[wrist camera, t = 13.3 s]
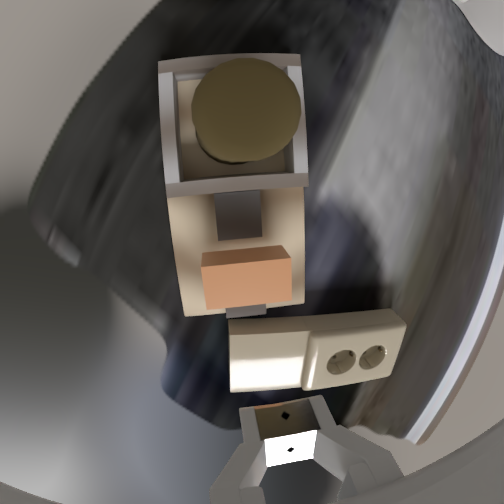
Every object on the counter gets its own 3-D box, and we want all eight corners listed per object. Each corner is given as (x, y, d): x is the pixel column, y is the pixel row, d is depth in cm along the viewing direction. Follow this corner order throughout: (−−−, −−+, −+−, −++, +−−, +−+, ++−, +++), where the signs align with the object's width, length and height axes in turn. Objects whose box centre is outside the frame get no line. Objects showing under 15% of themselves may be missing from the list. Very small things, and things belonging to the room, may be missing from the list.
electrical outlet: (230, 341, 24) (409, 324, 27) (227, 317, 28) (390, 306, 31) (231, 398, 27) (391, 377, 29) (228, 372, 31) (376, 357, 33)
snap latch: (202, 252, 22) (200, 267, 19) (281, 244, 23) (291, 257, 20) (207, 291, 23) (206, 309, 20) (282, 283, 24) (291, 300, 21)
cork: (284, 109, 22) (338, 76, 11) (254, 176, 23) (287, 194, 13) (213, 80, 20) (214, 22, 10) (182, 149, 22) (156, 142, 11)
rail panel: (160, 65, 20) (151, 50, 16) (291, 58, 21) (305, 43, 17) (185, 311, 27) (182, 334, 23) (301, 298, 28) (314, 319, 24)
